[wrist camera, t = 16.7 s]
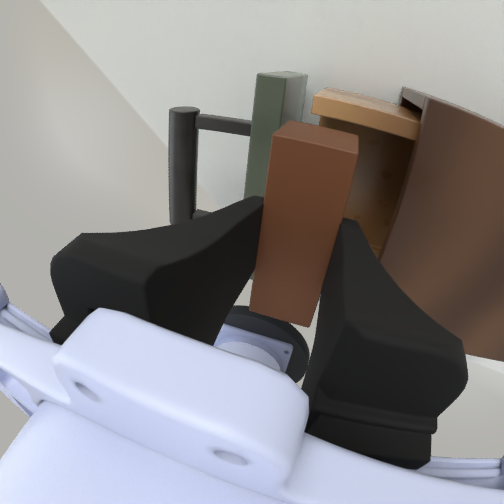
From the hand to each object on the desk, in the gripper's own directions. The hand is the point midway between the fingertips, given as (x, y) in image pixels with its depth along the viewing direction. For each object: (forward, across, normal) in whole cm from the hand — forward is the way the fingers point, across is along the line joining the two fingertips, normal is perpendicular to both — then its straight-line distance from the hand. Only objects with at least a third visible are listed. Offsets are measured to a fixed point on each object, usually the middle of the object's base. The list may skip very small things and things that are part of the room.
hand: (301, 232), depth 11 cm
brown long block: (+1, 0, 0) cm, 1 cm away
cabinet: (+9, -9, 0) cm, 13 cm away
